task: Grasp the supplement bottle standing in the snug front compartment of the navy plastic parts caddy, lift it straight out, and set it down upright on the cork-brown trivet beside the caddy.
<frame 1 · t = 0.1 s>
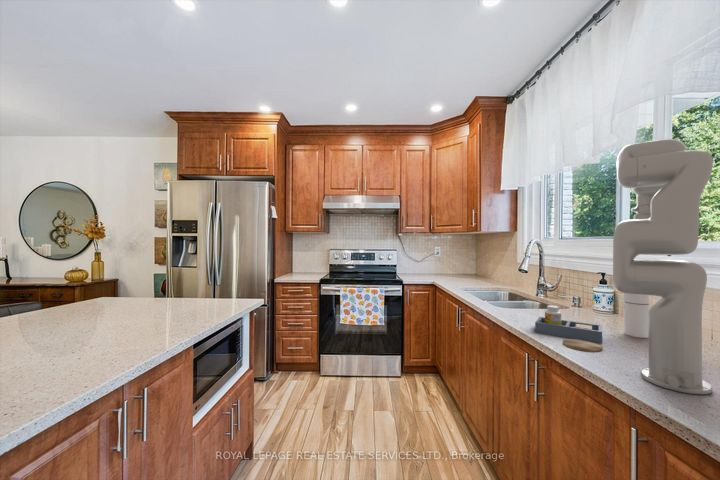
hand: (650, 255, 112), 31 cm above the table, tool pointing down, fingers open, 9 cm apart
supplement bottle: (553, 332, 121), resting in parts caddy
cylindrical container: (636, 335, 117), on the table
parts caddy: (568, 333, 118), on the table
birch block: (583, 336, 115), resting in parts caddy
cork trivet: (581, 346, 104), on the table
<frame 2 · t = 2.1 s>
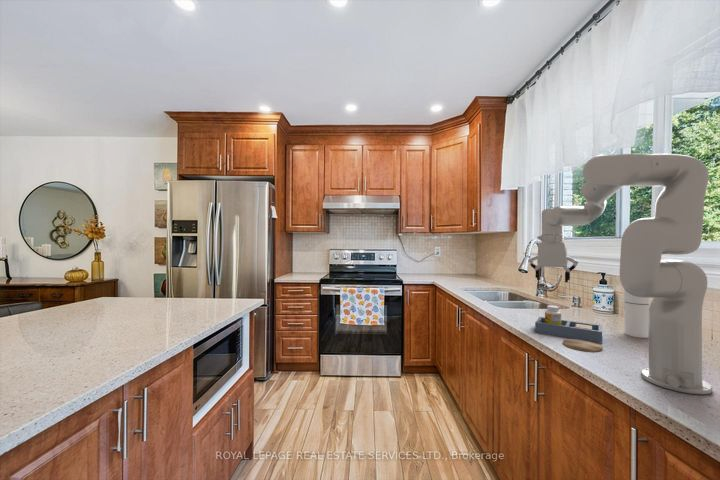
hand: (552, 280, 122), 21 cm above the table, tool pointing down, fingers open, 9 cm apart
nothing on the table moved.
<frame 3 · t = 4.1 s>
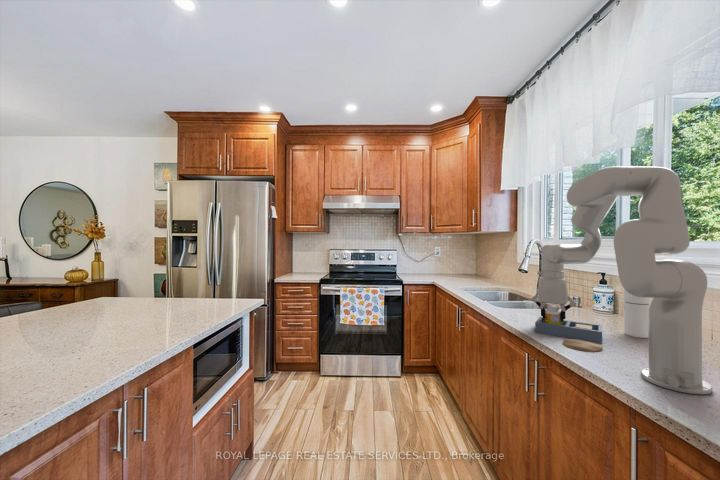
hand: (553, 319, 122), 5 cm above the table, tool pointing down, fingers closed on supplement bottle, 5 cm apart
supplement bottle: (553, 331, 121), resting in parts caddy, touching gripper
everything else where it was.
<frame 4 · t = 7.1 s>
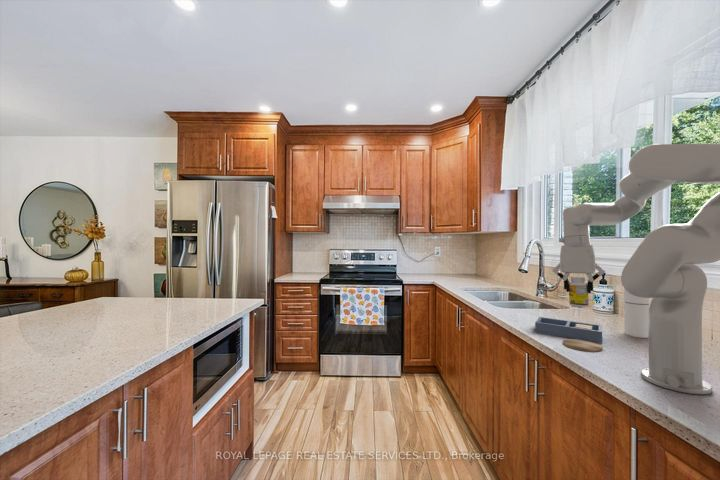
hand: (578, 291, 106), 19 cm above the table, tool pointing down, fingers closed on supplement bottle, 5 cm apart
supplement bottle: (579, 306, 106), point 14 cm above the table, touching gripper
everything else where it was.
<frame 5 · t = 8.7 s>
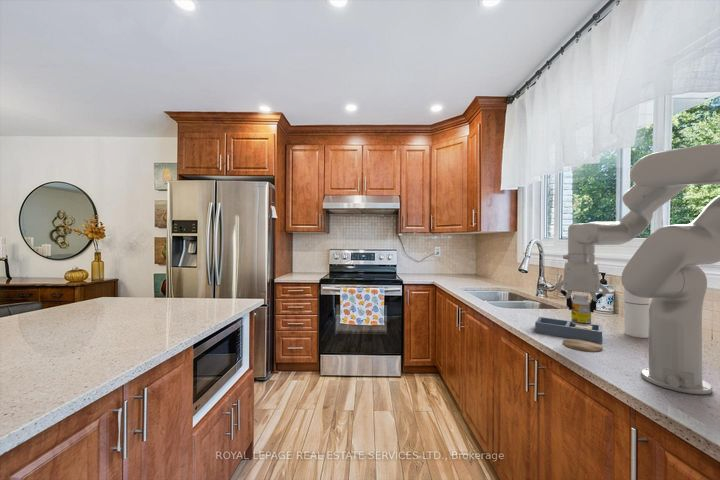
hand: (581, 310, 105), 13 cm above the table, tool pointing down, fingers closed on supplement bottle, 5 cm apart
supplement bottle: (581, 324, 105), point 7 cm above the table, touching gripper
everything else where it was.
when the fingers open (7 cm above the table, at t = 10.1 s): supplement bottle drops 1 cm, resting on cork trivet.
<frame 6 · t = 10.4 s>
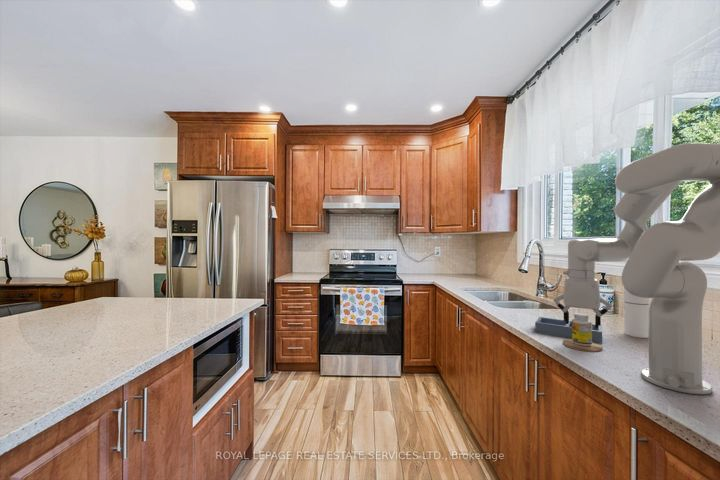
hand: (581, 324, 104), 7 cm above the table, tool pointing down, fingers open, 7 cm apart
supplement bottle: (582, 344, 104), point 1 cm above the table, touching cork trivet
everything else where it was.
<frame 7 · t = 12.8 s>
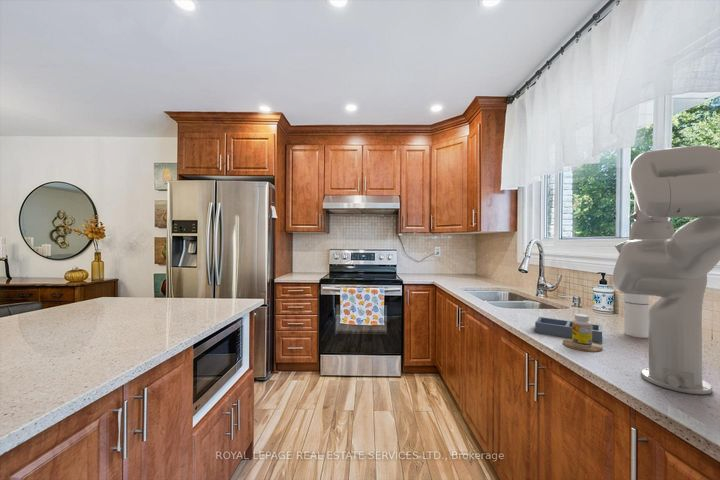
hand: (651, 271, 94), 27 cm above the table, tool pointing down, fingers open, 9 cm apart
nothing on the table moved.
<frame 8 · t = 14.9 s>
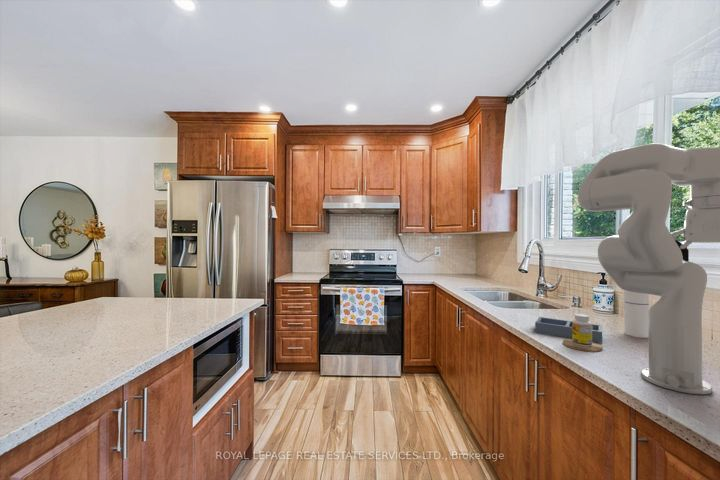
hand: (710, 262, 86), 30 cm above the table, tool pointing down, fingers open, 9 cm apart
nothing on the table moved.
at the end: supplement bottle 0.2 cm from the cork trivet (horizontally); supplement bottle tilted 0°; the gripper is holding nothing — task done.
